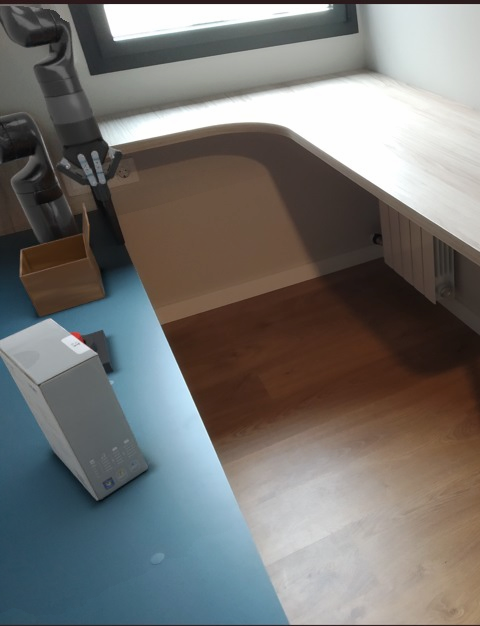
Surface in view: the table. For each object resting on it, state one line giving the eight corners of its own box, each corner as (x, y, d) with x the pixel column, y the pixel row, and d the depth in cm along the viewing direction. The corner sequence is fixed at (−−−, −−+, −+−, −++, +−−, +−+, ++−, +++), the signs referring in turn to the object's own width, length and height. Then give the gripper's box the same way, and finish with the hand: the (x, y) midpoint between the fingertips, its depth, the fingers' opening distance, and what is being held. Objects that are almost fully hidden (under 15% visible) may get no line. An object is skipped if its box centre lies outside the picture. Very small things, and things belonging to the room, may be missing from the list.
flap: (82, 202, 133) (84, 202, 134) (82, 230, 136) (84, 230, 136) (87, 225, 122) (89, 225, 122) (87, 254, 125) (88, 254, 125)
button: (59, 346, 109) (55, 337, 107) (84, 338, 110) (79, 329, 109) (60, 357, 105) (55, 348, 104) (85, 349, 107) (81, 340, 106)
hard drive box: (151, 468, 86) (99, 354, 76) (98, 504, 82) (35, 387, 71) (102, 423, 96) (49, 315, 85) (52, 452, 91) (-11, 342, 80)
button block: (49, 357, 112) (40, 340, 110) (106, 339, 116) (99, 321, 114) (51, 393, 103) (41, 374, 101) (113, 371, 107) (105, 353, 105)
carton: (38, 287, 137) (20, 249, 132) (99, 270, 141) (84, 232, 136) (39, 317, 125) (19, 277, 120) (105, 297, 130) (89, 257, 125)
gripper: (107, 106, 124) (136, 187, 134) (35, 120, 120) (70, 203, 129) (110, 113, 119) (140, 197, 128) (35, 128, 114) (72, 215, 123)
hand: (105, 200), depth 128 cm, fingers closed
